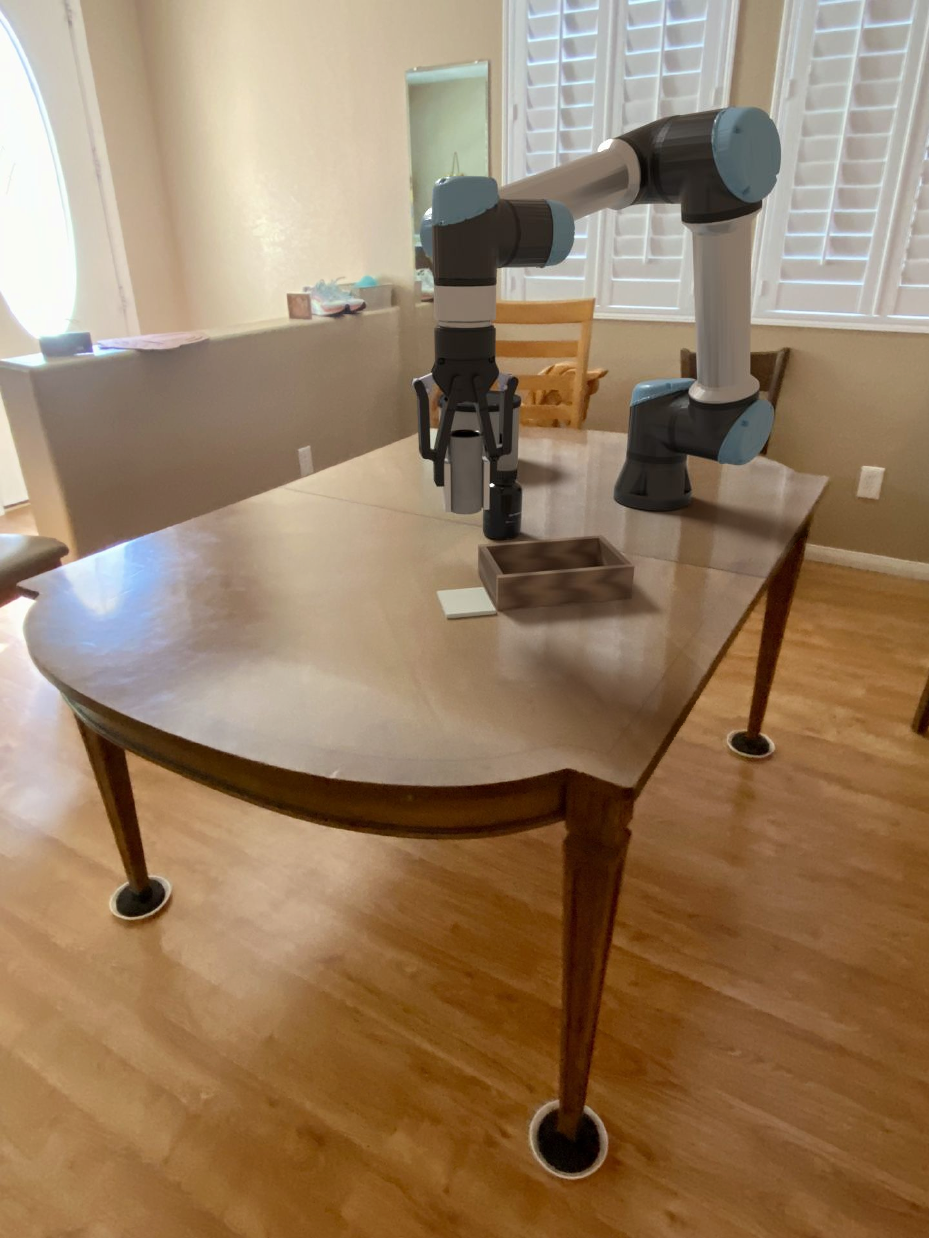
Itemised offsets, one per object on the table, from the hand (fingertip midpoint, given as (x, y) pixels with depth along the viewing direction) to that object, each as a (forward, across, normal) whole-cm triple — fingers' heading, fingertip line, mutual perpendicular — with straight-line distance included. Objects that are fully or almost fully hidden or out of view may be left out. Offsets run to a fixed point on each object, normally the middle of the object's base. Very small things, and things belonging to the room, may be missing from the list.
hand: (465, 507), depth 103 cm
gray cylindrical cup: (0, 0, 0) cm, 0 cm away
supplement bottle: (+15, -12, -27) cm, 33 cm away
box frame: (+14, -14, -4) cm, 20 cm away
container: (+15, -18, -74) cm, 78 cm away
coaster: (+14, 0, 0) cm, 14 cm away
